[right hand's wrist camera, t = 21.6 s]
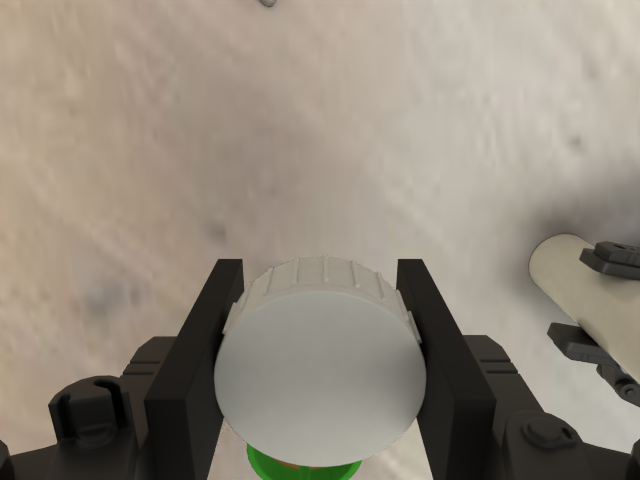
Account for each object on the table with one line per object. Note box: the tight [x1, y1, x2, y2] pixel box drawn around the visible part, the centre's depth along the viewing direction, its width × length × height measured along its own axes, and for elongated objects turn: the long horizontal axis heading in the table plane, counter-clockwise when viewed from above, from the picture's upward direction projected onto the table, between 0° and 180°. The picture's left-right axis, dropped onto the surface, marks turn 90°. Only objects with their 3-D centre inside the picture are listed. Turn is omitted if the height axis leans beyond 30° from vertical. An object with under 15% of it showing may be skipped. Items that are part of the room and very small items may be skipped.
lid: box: [214, 255, 426, 467], centre depth 11 cm, size 5×5×2 cm
